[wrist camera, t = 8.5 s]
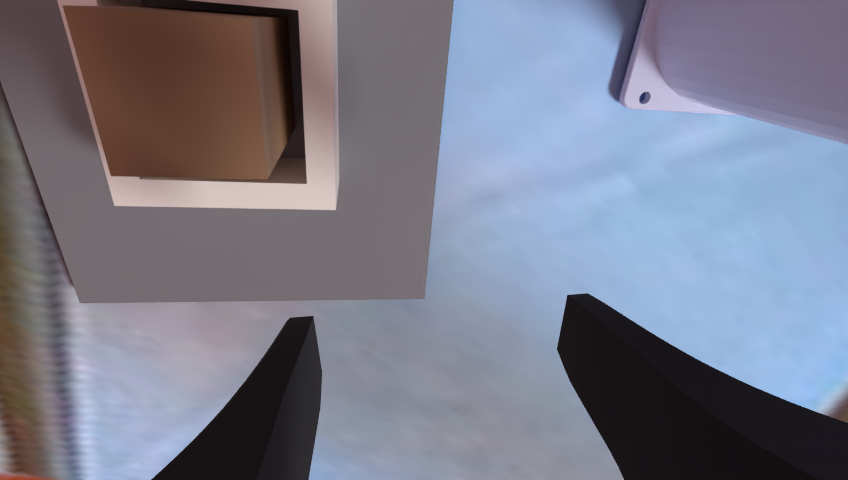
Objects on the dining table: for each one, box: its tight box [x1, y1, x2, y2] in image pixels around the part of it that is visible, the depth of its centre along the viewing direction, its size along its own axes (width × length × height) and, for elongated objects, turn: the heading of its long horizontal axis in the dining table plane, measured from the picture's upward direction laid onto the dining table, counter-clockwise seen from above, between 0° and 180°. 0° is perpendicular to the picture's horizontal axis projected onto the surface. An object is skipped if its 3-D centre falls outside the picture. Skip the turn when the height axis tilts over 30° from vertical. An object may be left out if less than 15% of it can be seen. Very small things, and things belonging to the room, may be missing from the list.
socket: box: [0, 0, 454, 303], centre depth 15 cm, size 16×20×4 cm
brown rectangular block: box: [62, 5, 295, 179], centre depth 13 cm, size 4×4×6 cm
